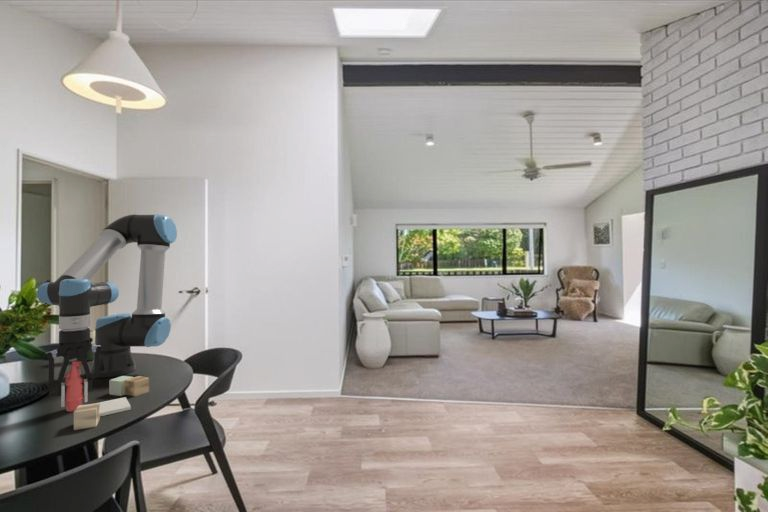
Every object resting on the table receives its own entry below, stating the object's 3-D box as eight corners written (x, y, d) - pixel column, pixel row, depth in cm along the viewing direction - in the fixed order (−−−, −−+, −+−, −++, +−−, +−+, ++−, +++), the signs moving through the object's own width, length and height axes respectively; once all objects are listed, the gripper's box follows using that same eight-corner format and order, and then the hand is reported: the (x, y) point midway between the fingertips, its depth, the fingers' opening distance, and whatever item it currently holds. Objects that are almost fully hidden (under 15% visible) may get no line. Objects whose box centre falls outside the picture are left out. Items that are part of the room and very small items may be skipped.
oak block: (125, 394, 131) (125, 380, 131) (139, 389, 135) (139, 375, 135) (134, 396, 129) (134, 382, 128) (148, 392, 133) (149, 377, 133)
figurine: (80, 404, 122) (80, 357, 122) (88, 407, 119) (88, 359, 119) (60, 410, 117) (60, 361, 117) (68, 413, 115) (69, 364, 115)
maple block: (78, 423, 109) (78, 405, 109) (99, 419, 111) (100, 402, 111) (73, 430, 104) (73, 412, 104) (96, 426, 107) (96, 409, 106)
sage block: (109, 394, 130) (109, 380, 130) (122, 389, 135) (122, 375, 135) (120, 396, 129) (120, 381, 129) (133, 391, 134) (133, 376, 134)
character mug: (68, 364, 164) (68, 334, 164) (72, 360, 170) (72, 331, 170) (99, 360, 169) (99, 331, 169) (102, 356, 176) (102, 329, 176)
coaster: (87, 408, 119) (87, 404, 119) (125, 400, 125) (125, 397, 125) (90, 418, 111) (90, 415, 111) (130, 409, 118) (130, 406, 118)
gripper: (35, 334, 109) (35, 415, 109) (111, 326, 121) (111, 399, 121) (35, 330, 115) (35, 407, 115) (108, 323, 127) (108, 393, 127)
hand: (74, 403), depth 118 cm, fingers closed on figurine, 5 cm apart
